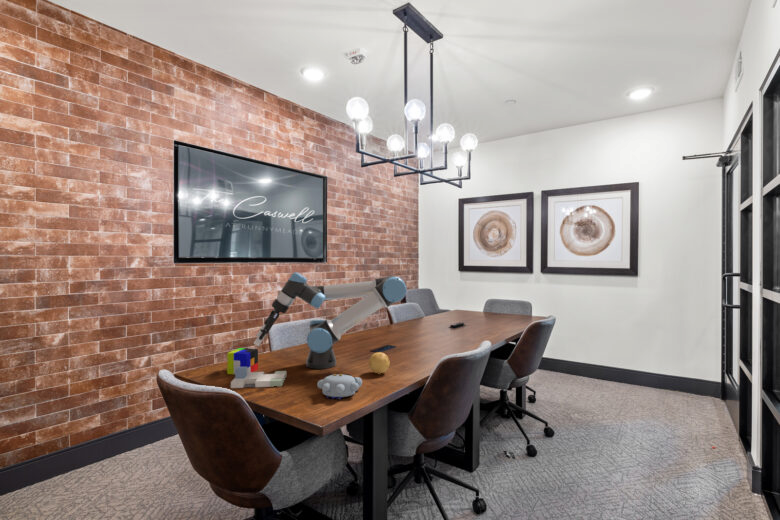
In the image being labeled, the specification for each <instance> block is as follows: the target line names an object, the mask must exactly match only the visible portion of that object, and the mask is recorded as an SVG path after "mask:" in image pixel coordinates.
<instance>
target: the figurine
mask: <svg viewBox="0 0 780 520" xmlns="http://www.w3.org/2000/svg"><path fill="white" fill-rule="evenodd" d="M316 386H317V388H318V389H321V390H322V394H323V395H325V396H326V399H327V398H329V397H331V398H330V399H334V398H336V400H337V399H338V398H339V399H340V400H341V398H342V399H343V398H345V397H350V396H353V395H355V394H356V392H357V391H358V390H359V388H361V387H362V386H363V379H362V378H361V377H359V376H355V377H354V376H352V375H351V374H347V373H346V374H345V373H344V374H342V373H340V374H337V373H334V374H330V375H328V376H327V375H326V376H325V377H324V378H323V379H320V380H318V381H317V385H316Z"/></svg>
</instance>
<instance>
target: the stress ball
mask: <svg viewBox="0 0 780 520" xmlns="http://www.w3.org/2000/svg"><path fill="white" fill-rule="evenodd" d="M390 365H391V362H390V359H389V357H388V355H387V354H385V352H381V351H379V352H378V351H377V352H374V353H372V355H371V356H370V358H369V359H368V366H369V369H370V370H371V371H372V372H373V373H375V374H376V373H378V374H377V375H382V374H383V373H385V372H387V370H388V369H390ZM381 373H382V374H381Z"/></svg>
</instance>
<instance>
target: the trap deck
mask: <svg viewBox="0 0 780 520" xmlns="http://www.w3.org/2000/svg"><path fill="white" fill-rule="evenodd" d="M287 375H288V374H287V370H276V371H274V373H265V371H253V372H247V376H246V377H245V378H237V379H235V377H234V378H233V379H232V380H231V382H230V389H246V388H247V387H250V388H268V387H269V388H270V387H271V388H272V387H273V388H274V386H277V387H283V385H284V382H285V381H286V379H285V378H287ZM284 380H285V381H284Z"/></svg>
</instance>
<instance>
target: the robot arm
mask: <svg viewBox="0 0 780 520" xmlns="http://www.w3.org/2000/svg"><path fill="white" fill-rule="evenodd" d="M307 282H308V279H307V277H305V276H304V275H303V274H301V273H299V272H297V271H296V272H293V273H292V274H291V276H289V278H288V279H287V281H286V283H285V284H284V286H283V287H282V289H281V291H279V292H278V293H277V294H278V295H277V297H276V298H275V299H274V301H273V302H272V303H271V306H272V308H273V310H271V311H270V313H269V315H268V316H267V317H266V319H265V321H264V323H263V324H262V326H260V327H261V328H260V329H259V330H258V331H257V333H256V336H257V337H256V338H255V340H254V342H253V344H254V345H255V346H257V347H259V346H260V345H261V344H262V342H263V340H265V338H266V336H267V335H268V334H269V332H270V331H271V328H272V327H273V326H274V324H275V322H276V321H277V320H278V319H279V317H280V313H281V314H286V312H287V311H288V309H290V307H291V305H292V304H293V303H294V301H296V300H295V299H296V297H297V298H299V299H300V300H302V301H304V302H305V303H306V304H308V305H310V306H311V307H313V308H315V309H317V310H318V309H319V308H320V307H321V306H322V304H323V303H324V301H329V300H330V301H331V300H341V299H342V300H344V299H353V298H360V297H362V299H360V300H359V301H357V302H356V303H355V304H353V305H352V306H350V307H348V308H347V309H346V310H343V312H341V313H340V314H338V315H337V316H335V317H334V318H332V319H328V318H327V319H316V320H315V319H314V320H311V321H310V322H309V332H308V333H307V336H306V343H307V346H308V348H309V352H308V355H307V358H306V360H305V361H306V363H305V365H306V368H309V369H316V370H321V369H329V368H333V367H335V366H337V359H336V356H335V352H334V346H333V345H335V344H336V343H337V342H339V341H340V340H341V337H342V335H343V334H345V333H346V332H348V331H349V330H350V329H353V328H354V327H355V326H357V325H358V324H360V323H361V322H363V321H364V320H366V319H367V318H368V317H370V316H371V315H372V314H374V313H376V312H377V311H379V310H380V309H382V308H389V307H391V305H393V304H394V303H398V302H400V301H402V300H403V299H404V298H405V297H406V294H407V285H406V283H405V281H404V280H403V279H402V278H400V277H399V276H394V275H389V276H385V277H380V278H379V277H378V278H373V279H372V280H369V281H368V280H367V281H359V282H349V283H348V282H347V283H338V284H327V285H312V286H311V285H310V284H309V283H307Z"/></svg>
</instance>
